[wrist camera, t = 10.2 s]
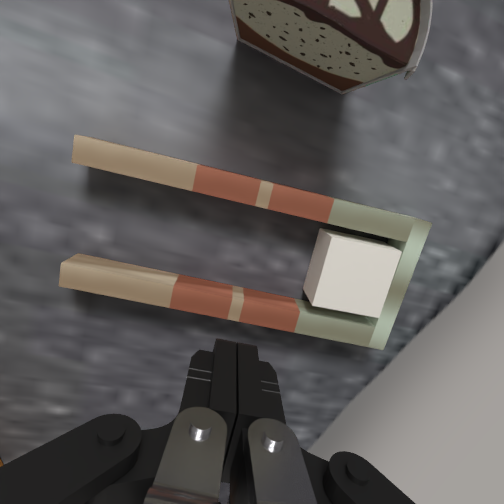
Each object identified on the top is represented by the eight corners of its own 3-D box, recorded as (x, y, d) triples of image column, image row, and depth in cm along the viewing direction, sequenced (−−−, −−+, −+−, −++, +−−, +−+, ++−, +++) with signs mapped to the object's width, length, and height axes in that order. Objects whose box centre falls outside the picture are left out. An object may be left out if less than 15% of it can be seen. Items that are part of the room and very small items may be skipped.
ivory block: (319, 227, 30) (331, 236, 26) (380, 240, 31) (401, 251, 27) (302, 288, 32) (312, 305, 28) (361, 299, 32) (379, 318, 28)
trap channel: (91, 137, 27) (74, 134, 24) (413, 217, 30) (432, 222, 27) (75, 274, 30) (58, 286, 27) (370, 333, 33) (383, 350, 30)
